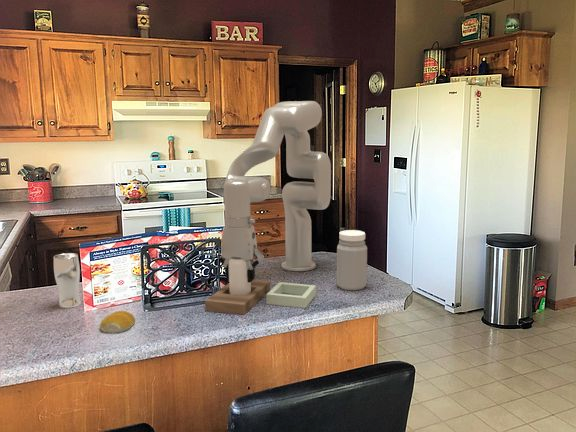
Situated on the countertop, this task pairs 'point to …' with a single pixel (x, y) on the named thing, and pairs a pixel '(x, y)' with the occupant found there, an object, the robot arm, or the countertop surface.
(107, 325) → the bread roll
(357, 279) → the jar
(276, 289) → the sage holder
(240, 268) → the can
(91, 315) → the countertop surface
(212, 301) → the walnut holder
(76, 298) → the beer glass
